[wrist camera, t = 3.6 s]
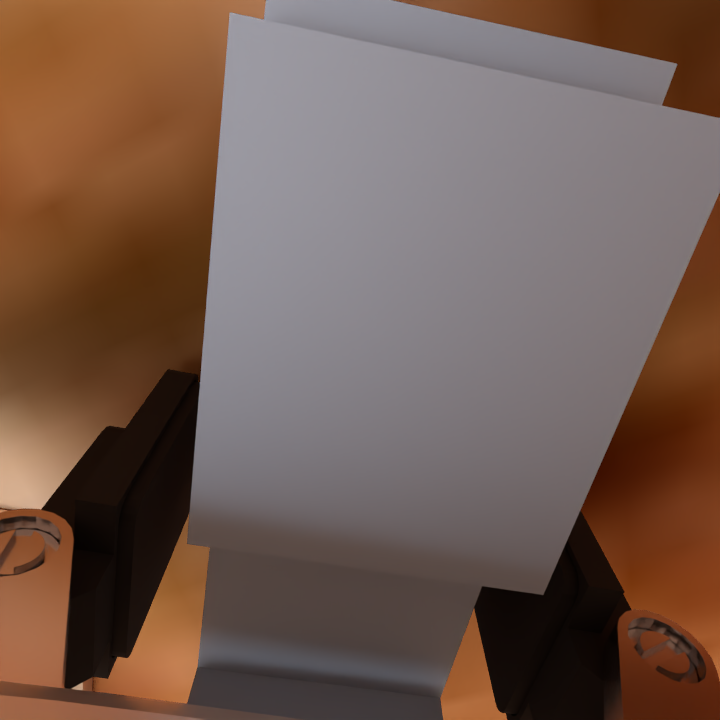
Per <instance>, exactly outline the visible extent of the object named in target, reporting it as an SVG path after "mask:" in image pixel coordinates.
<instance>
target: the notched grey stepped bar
mask: <svg viewBox="0 0 720 720" xmlns="http://www.w3.org/2000/svg"><path fill="white" fill-rule="evenodd" d="M676 66H677V64H676V63H672V62H667V61H663V60H658V59H654V58H649V57H645V56H640V55H636V54H631V53H627V52H622V51H618V50H613V49H609V48H604V47H600V46H595V45H591V44H586V43H582V42H577V41H573V40H568V39H564V38H559V37H555V36H550V35H546V34H541V33H537V32H532V31H528V30H523V29H519V28H514V27H510V26H505V25H501V24H496V23H492V22H488V21H483V20H479V19H474V18H470V17H465V16H461V15H456V14H452V13H447V12H443V11H438V10H434V9H429V8H425V7H420V6H416V5H411V4H407V3H402V2H398V1H393V0H266V6H265V15H264V20H263V19H259V18H254V17H249V16H245V15H240V14H236V13H231V12H230V17H229V29H228V42H227V54H226V67H225V79H224V91H223V104H222V116H221V129H220V141H219V154H218V166H217V178H216V191H215V203H214V216H213V228H212V240H211V253H210V265H209V278H208V290H207V302H206V315H205V327H204V340H203V352H202V364H201V377H200V389H199V402H198V414H197V426H196V439H195V451H194V464H193V476H192V488H191V501H190V513H189V526H188V538H187V544H191V545H198V546H205V547H210V551H209V561H208V571H207V581H206V590H205V600H204V610H203V620H202V629H201V639H200V649H199V659H198V668H197V671H196V675H195V678H194V682H193V685H192V689H191V692H190V696H189V699H188V703H187V704H191V705H199V706H206V707H214V708H221V709H229V710H236V711H243V712H251V713H258V714H266V715H273V716H281V717H288V718H295V719H303V720H443V716H442V708H441V701H440V697H441V694H442V692H443V689H444V686H445V684H446V681H447V678H448V676H449V673H450V670H451V668H452V665H453V662H454V660H455V657H456V654H457V652H458V649H459V646H460V644H461V641H462V638H463V636H464V633H465V630H466V628H467V625H468V622H469V620H470V617H471V614H472V612H473V609H474V606H475V604H476V601H477V598H478V596H479V593H480V590H481V588H482V586H485V587H492V588H499V589H506V590H513V591H520V592H527V593H534V594H541V595H543V594H544V592H545V590H546V588H547V585H548V583H549V581H550V578H551V576H552V574H553V572H554V569H555V567H556V565H557V562H558V560H559V558H560V556H561V553H562V551H563V549H564V546H565V544H566V542H567V540H568V537H569V535H570V533H571V530H572V528H573V526H574V524H575V521H576V519H577V517H578V514H579V512H580V510H581V508H582V505H583V503H584V501H585V499H586V496H587V494H588V492H589V489H590V487H591V485H592V483H593V480H594V478H595V476H596V473H597V471H598V469H599V467H600V464H601V462H602V460H603V457H604V455H605V453H606V451H607V448H608V446H609V444H610V441H611V439H612V437H613V435H614V432H615V430H616V428H617V425H618V423H619V421H620V419H621V416H622V414H623V412H624V410H625V407H626V405H627V403H628V400H629V398H630V396H631V394H632V391H633V389H634V387H635V384H636V382H637V380H638V378H639V375H640V373H641V371H642V368H643V366H644V364H645V362H646V359H647V357H648V355H649V352H650V350H651V348H652V346H653V343H654V341H655V339H656V336H657V334H658V332H659V330H660V327H661V325H662V323H663V320H664V318H665V316H666V314H667V311H668V309H669V307H670V305H671V302H672V300H673V298H674V295H675V293H676V291H677V289H678V286H679V284H680V282H681V279H682V277H683V275H684V273H685V270H686V268H687V266H688V263H689V261H690V259H691V257H692V254H693V252H694V250H695V247H696V245H697V243H698V241H699V238H700V236H701V234H702V231H703V229H704V227H705V225H706V222H707V220H708V218H709V216H710V213H711V211H712V209H713V206H714V204H715V202H716V200H717V197H718V195H719V193H720V118H717V117H712V116H708V115H703V114H698V113H694V112H689V111H685V110H680V109H675V108H671V107H666V106H662V104H663V101H664V99H665V96H666V93H667V91H668V88H669V85H670V83H671V80H672V77H673V74H674V72H675V69H676Z"/></svg>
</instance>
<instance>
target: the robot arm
mask: <svg viewBox="0 0 720 720" xmlns="http://www.w3.org/2000/svg"><path fill="white" fill-rule="evenodd" d="M199 389H200V383H199V382H198V376H197V375H196V374H191V373H186V372H181V371H175V370H170V369H168V370H167V371H166V372H165V374H164V375H163V377H162V378H161V379H160V381H159V382H158V384H157V385H156V386H155V388H154V389H153V391H152V392H151V393H150V395H149V396H148V398H147V399H146V400H145V402H144V403H143V405H142V406H141V407H140V409H139V410H138V412H137V413H136V414H135V416H134V417H133V419H132V420H131V421H130V423H129V424H128V426H127V427H126V428H120V427H114V426H108V427H106V428H105V429H104V430H103V431H102V432H101V433H100V435H99V436H98V437H97V439H96V440H95V441H94V442H93V444H92V445H91V446H90V447H89V449H88V450H87V451H86V453H85V454H84V455H83V456H82V458H81V459H80V460H79V462H78V463H77V464H76V465H75V467H74V468H73V469H72V471H71V472H70V473H69V474H68V476H67V477H66V478H65V480H64V481H63V482H62V483H61V485H60V486H59V487H58V489H57V490H56V491H55V492H54V494H53V495H52V496H51V498H50V499H49V500H48V501H47V503H46V504H45V505H44V507H43V508H42V509H41V510H40V509H17V510H11V511H5V512H1V513H0V720H303V719H295V718H288V717H281V716H273V715H266V714H258V713H251V712H243V711H236V710H229V709H221V708H214V707H206V706H199V705H191V704H184V703H176V702H169V701H161V700H154V699H146V698H139V697H131V696H124V695H116V694H109V693H101V692H92V691H84V690H75V689H72V688H73V687H75V686H77V685H79V684H81V683H83V682H85V681H86V680H88V679H90V678H92V677H100V678H107V679H108V677H109V675H110V672H111V670H112V668H113V666H114V663H115V661H116V659H117V657H124V658H128V657H129V656H130V654H131V652H132V650H133V647H134V645H135V642H136V640H137V638H138V635H139V633H140V630H141V628H142V626H143V623H144V621H145V618H146V616H147V613H148V611H149V609H150V606H151V604H152V601H153V599H154V597H155V594H156V592H157V589H158V587H159V584H160V582H161V580H162V577H163V575H164V572H165V570H166V568H167V565H168V563H169V560H170V558H171V555H172V553H173V551H174V548H175V546H176V543H177V541H178V539H179V536H180V534H181V531H182V529H183V526H184V524H185V522H186V519H187V517H188V514H189V512H190V501H191V488H192V476H193V464H194V451H195V439H196V426H197V414H198V402H199ZM623 593H624V590H623V589H622V587H621V585H620V583H619V581H618V579H617V577H616V576H615V574H614V572H613V570H612V568H611V566H610V564H609V562H608V561H607V559H606V557H605V555H604V553H603V551H602V549H601V548H600V546H599V544H598V542H597V540H596V538H595V536H594V535H593V533H592V531H591V529H590V527H589V525H588V523H587V522H586V520H585V518H584V516H583V514H582V512H581V510H580V512H579V514H578V517H577V519H576V521H575V524H574V526H573V528H572V530H571V533H570V535H569V537H568V540H567V542H566V544H565V546H564V549H563V551H562V553H561V556H560V558H559V560H558V562H557V565H556V567H555V569H554V572H553V574H552V576H551V578H550V581H549V583H548V585H547V588H546V590H545V592H544V594H543V595H541V594H534V593H527V592H520V591H513V590H506V589H499V588H492V587H485V586H482V588H481V590H480V593H479V596H478V598H477V601H476V604H475V606H474V609H475V613H476V618H477V622H478V627H479V631H480V636H481V640H482V644H483V649H484V653H485V658H486V662H487V667H488V671H489V676H490V680H491V684H492V689H493V693H494V698H495V702H496V705H497V708H498V710H499V711H500V712H502V713H506V716H507V720H720V681H719V677H718V673H717V670H716V667H715V665H714V663H713V660H712V658H711V657H710V655H709V654H708V653H707V651H706V650H705V648H704V647H703V646H702V644H701V643H700V642H699V641H697V640H696V639H695V638H694V637H693V636H692V635H691V634H690V633H689V632H688V631H686V630H685V629H684V628H682V627H681V626H680V625H678V624H677V623H675V622H674V621H672V620H670V619H668V618H666V617H664V616H662V615H660V614H657V613H654V612H650V611H647V610H636V609H634V610H631V608H630V606H629V604H628V602H627V601H626V599H625V597H624V595H623Z"/></svg>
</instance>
